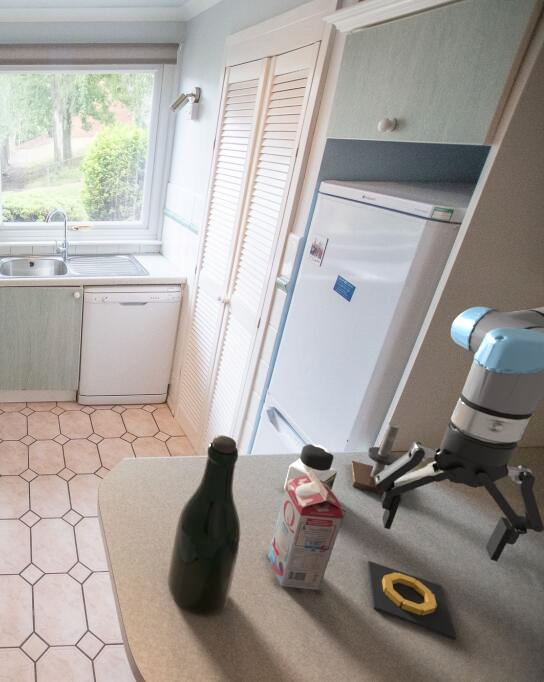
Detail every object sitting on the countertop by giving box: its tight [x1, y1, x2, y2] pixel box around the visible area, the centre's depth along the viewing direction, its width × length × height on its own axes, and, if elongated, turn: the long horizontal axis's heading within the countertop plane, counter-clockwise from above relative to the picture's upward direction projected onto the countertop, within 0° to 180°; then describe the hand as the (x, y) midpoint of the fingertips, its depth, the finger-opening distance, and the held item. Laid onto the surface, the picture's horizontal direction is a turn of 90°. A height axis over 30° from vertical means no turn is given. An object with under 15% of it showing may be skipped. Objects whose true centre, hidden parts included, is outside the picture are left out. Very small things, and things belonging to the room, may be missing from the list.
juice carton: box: [267, 467, 346, 591], centre depth 81 cm, size 7×7×22 cm
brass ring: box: [382, 572, 437, 616], centre depth 80 cm, size 7×7×1 cm
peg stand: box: [350, 422, 403, 498], centre depth 105 cm, size 9×9×16 cm
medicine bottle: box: [283, 443, 338, 491], centre depth 103 cm, size 7×7×12 cm
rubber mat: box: [367, 560, 457, 640], centre depth 80 cm, size 11×11×1 cm
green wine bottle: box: [167, 435, 241, 617], centre depth 76 cm, size 10×10×33 cm
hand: (436, 538), depth 75 cm, fingers open, 13 cm apart
